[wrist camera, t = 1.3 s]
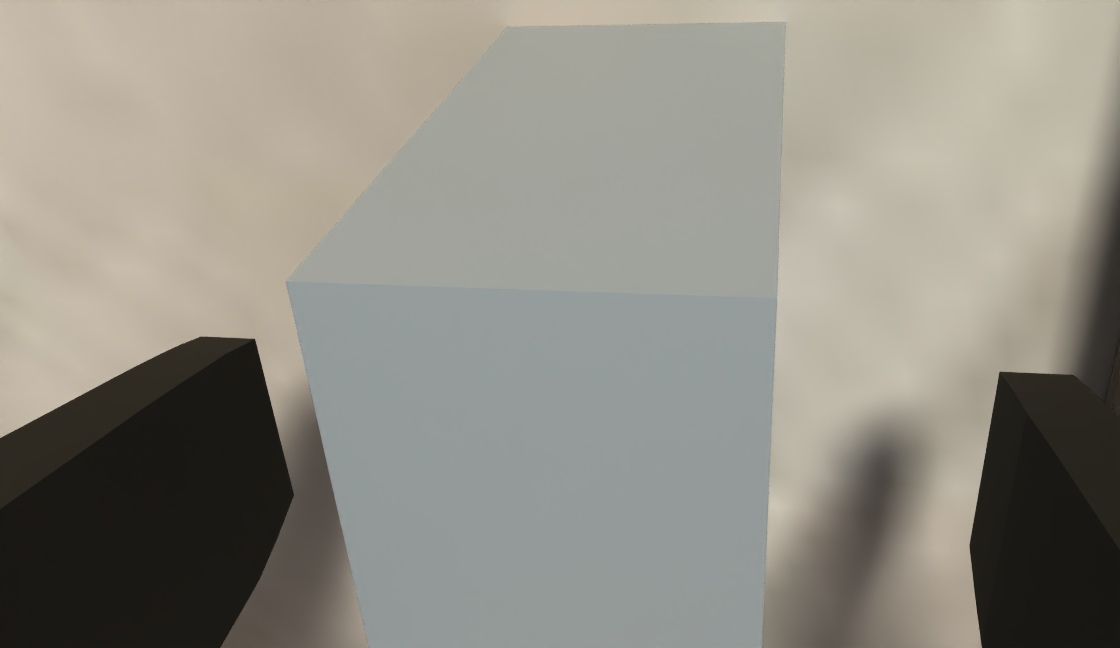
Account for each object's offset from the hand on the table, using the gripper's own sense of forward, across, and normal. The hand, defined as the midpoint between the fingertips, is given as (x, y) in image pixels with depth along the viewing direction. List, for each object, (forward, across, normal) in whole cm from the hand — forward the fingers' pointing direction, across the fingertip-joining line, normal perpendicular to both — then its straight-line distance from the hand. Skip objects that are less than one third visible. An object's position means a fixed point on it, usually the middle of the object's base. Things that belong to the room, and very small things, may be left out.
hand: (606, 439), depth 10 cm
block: (+3, 0, 0) cm, 3 cm away
